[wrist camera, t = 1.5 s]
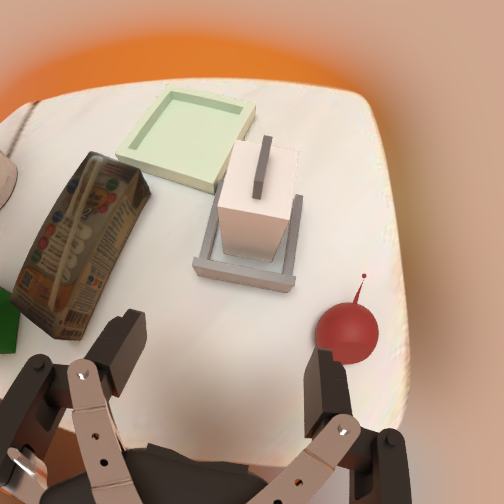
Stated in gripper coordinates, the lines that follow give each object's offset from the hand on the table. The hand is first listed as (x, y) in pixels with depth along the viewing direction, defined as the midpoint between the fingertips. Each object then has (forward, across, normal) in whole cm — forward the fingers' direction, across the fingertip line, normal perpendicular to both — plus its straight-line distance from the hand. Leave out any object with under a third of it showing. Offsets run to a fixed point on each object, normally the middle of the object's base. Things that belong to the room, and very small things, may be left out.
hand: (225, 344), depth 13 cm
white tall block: (+19, 0, +3) cm, 19 cm away
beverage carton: (+15, +18, +7) cm, 25 cm away
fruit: (+14, -11, +8) cm, 19 cm away
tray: (+27, +10, -5) cm, 29 cm away
